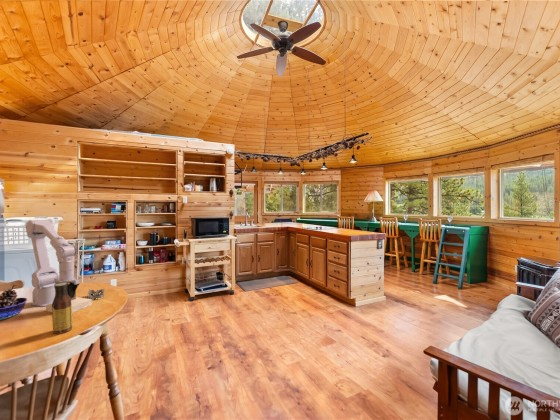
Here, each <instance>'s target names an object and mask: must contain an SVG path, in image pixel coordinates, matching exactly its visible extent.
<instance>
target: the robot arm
mask: <svg viewBox="0 0 560 420" xmlns="http://www.w3.org/2000/svg"><path fill="white" fill-rule="evenodd" d="M25 232H26V235H27V238H29V239H31V244H32V248H33V253H34V259H35V262H36V270H35V271H34V272H33V273H31V284H32V287H33V290H32V293H31V295H32V303H30V305H31V306H37V307H46V305H48V304H51V303H53V300H54V298H55V288H54V286H55V285H56V284H59V283H67V292H68V295H69V296H70V298H73V297H74V295H75V291H76V292H77V289H78V287H79V285H80V284H81V283H80V282H81V280H80V279H78V278H76V277H75V259H74V258H75V256H76V255H77V247H76V246H75V245H74V244H70V243H68V241H67V240H66V239H65V238H64V237H63V236H62V235H61V236H60V235H59V234H58V233H57V231H56V230H55V223H54V221H53V219H50V218H49V219H38V220H31V219H30V220H27V222H26V223H25ZM46 237H47V238H48V239H49V244H50V245H51V246H52V248H53V249H54V250H55V256H56V258H57V262H58V270H57V268H55V267H52V266H51V263H50V259H49V254H48V249H47V245H46V240H45V238H46ZM58 271H59V272H58Z"/></svg>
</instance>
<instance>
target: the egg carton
mask: <svg viewBox="0 0 560 420" xmlns="http://www.w3.org/2000/svg"><path fill="white" fill-rule="evenodd" d="M100 292H101V293H100ZM99 293H100V294H99ZM104 293H105V288H103V289H101V288H100V289H96V290H95V289H90V288H89V289H88V294H87V296H88V299H92V300H93V301H95V300H97V299H96V298H102V297H104V296H105V295H104ZM91 294H94V295H91ZM104 298H105V297H104ZM94 299H95V300H94ZM102 299H103V298H102Z"/></svg>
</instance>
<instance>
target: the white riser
mask: <svg viewBox="0 0 560 420" xmlns="http://www.w3.org/2000/svg"><path fill="white" fill-rule="evenodd" d="M71 304H72V314H73V313H75V312H78V311H80V310H83V309H85V308H88V307H90V306H92V305H93V301H92V299H89V298H86V297H85V298H84V297H79V296H76V299H74V300H71ZM45 311H46V312H49V313H52V303H51V304H48V305H46V306H45Z"/></svg>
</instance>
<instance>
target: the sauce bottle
mask: <svg viewBox="0 0 560 420" xmlns="http://www.w3.org/2000/svg"><path fill="white" fill-rule="evenodd" d="M54 288H55V298H54V300H53V303H52V312H51V316H52V317H51V321H52V331H53V334H57V335H60V334H61V335H62V334H65V333H67V332H69V331H71V330H72V328H73V313H72V304H71V298H70V296H69V295H68V294H67V283H59V284H56V285H55V286H54Z"/></svg>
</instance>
